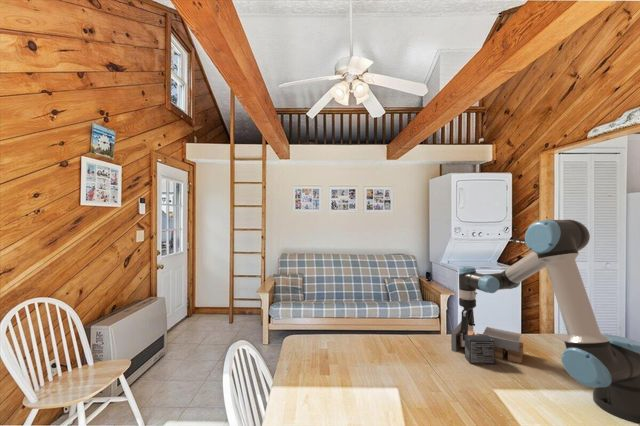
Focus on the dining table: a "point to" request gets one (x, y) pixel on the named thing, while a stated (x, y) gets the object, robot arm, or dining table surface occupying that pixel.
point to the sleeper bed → (509, 353)
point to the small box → (479, 349)
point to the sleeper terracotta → (468, 334)
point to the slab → (504, 338)
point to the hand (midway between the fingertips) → (467, 342)
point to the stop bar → (456, 338)
